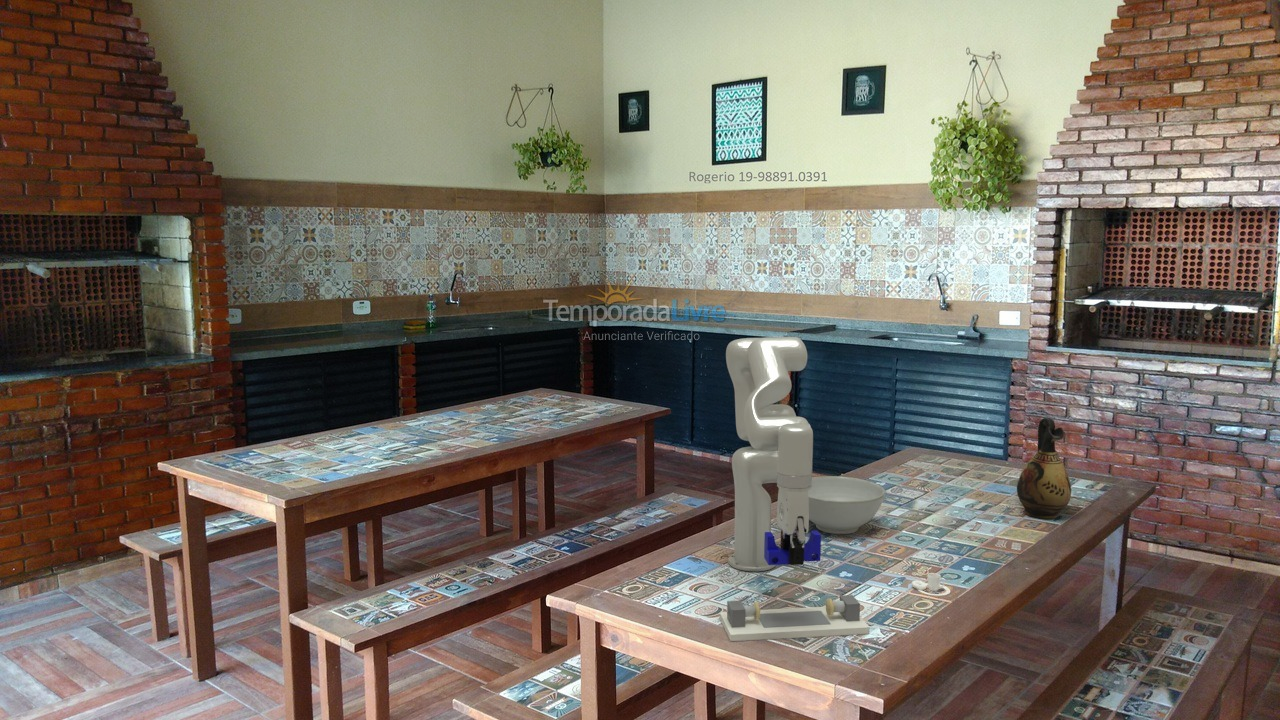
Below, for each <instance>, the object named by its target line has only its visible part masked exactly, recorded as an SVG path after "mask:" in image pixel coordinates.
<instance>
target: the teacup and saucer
mask: <svg viewBox="0 0 1280 720" xmlns="http://www.w3.org/2000/svg"><path fill="white" fill-rule="evenodd" d="M941 580H944V583H943V584H941ZM946 581H947V580H946V579H945V578H944V577H942V576H941V574H939V573H936V572H929V573H927V582H924V581H921V580H917V579H916V580H912V582H911V586H912V587H913V588H914V589H916V590H917V591H918V592H920V593H922V594H925V595H928V596H936V597H942V596H947V595H949V594H950V593H951V590H950V588H949V587H947V586H946V585H945V584H946ZM927 588H928V590H930V591H933V592H937V591H939V590H940V589H944V592H942V593H930V592H926V591H925V590H927Z"/></svg>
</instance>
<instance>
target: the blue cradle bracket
mask: <svg viewBox="0 0 1280 720" xmlns="http://www.w3.org/2000/svg"><path fill="white" fill-rule="evenodd" d="M821 551H822V534H821V532H819V531H818V530H810V535H809V537H808V539H807V541H806V542H805V545H804V562H821V558H822V556H821V553H822V552H821ZM764 558H765V560H766V562H767V563H768V565H776V566H778V565H780V566H785V565H790V564H789V551H787V550H783V549H781V547H779V546H778V545H777V543H776V539H775V535H774V534H773V532H772V531H771V532H765V541H764Z"/></svg>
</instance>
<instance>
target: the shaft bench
mask: <svg viewBox="0 0 1280 720" xmlns="http://www.w3.org/2000/svg"><path fill="white" fill-rule="evenodd" d="M726 607H727V608H726V610H727V611H720V612H719V621H720V622H721V625H722V627H723V628H724V630H725V633H726V635H727V637H728V638H729V641H730V642H740V641H741V642H742V641H757V640H758V641H759V640H760V641H762V640H775V639H776V640H780V639H781V640H782V639H797V638H799V639H800V638H815V637H832V636H833V637H834V636H853V635H869V634H870V626H869V625H868V624H867V622H866V621H865V620H864V619H863V618H862V617H861V616H860V615H861V603H860V602H859V601H858V600H857V599H856V597H855V596H854V595H853V594H850V595H849V594H848V595H847V594H843V595H839V600H836V601H835V600H833V599H832V598H826V600H825V606H812V607H811V606H810V607H792V608H773V609H761V608H760V603H759V602H758V601H755V602H753V603H752V605H744V604H743V602H742V601H741V600H727V604H726Z"/></svg>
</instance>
